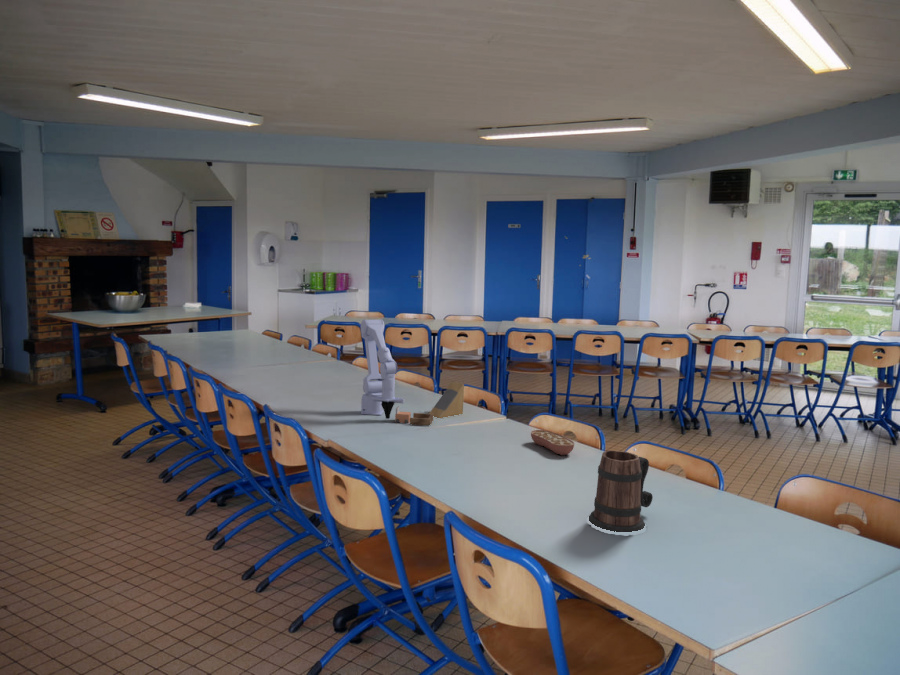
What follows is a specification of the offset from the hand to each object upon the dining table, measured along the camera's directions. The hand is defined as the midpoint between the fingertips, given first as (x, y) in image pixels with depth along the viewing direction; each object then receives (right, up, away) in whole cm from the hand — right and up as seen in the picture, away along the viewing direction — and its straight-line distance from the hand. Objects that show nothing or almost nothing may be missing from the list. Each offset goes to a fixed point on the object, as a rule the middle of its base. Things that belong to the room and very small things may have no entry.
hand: (387, 418), depth 290 cm
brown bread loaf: (+68, -8, -36) cm, 78 cm away
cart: (+7, -2, -1) cm, 7 cm away
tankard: (+78, -17, -105) cm, 132 cm away
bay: (+15, -2, -2) cm, 16 cm away
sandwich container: (+26, -1, +14) cm, 29 cm away
